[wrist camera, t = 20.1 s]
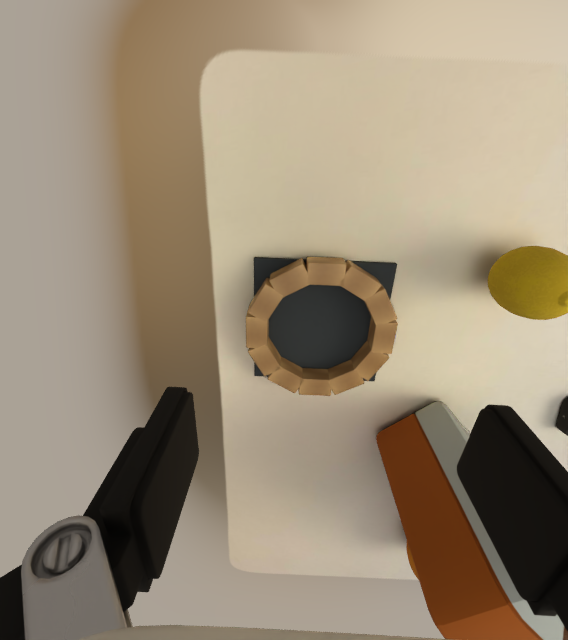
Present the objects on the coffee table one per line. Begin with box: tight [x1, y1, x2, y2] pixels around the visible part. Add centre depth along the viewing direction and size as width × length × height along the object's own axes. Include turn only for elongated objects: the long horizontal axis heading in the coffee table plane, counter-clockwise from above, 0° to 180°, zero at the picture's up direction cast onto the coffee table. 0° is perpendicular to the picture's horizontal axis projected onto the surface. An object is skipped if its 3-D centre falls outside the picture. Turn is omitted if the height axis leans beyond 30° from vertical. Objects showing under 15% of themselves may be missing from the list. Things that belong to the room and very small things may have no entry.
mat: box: [254, 257, 397, 381], centre depth 32 cm, size 13×13×1 cm
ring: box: [246, 257, 398, 396], centre depth 31 cm, size 14×14×2 cm
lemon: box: [488, 246, 568, 320], centre depth 26 cm, size 6×6×8 cm
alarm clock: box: [376, 401, 564, 640], centre depth 30 cm, size 18×9×21 cm, turn 40°
